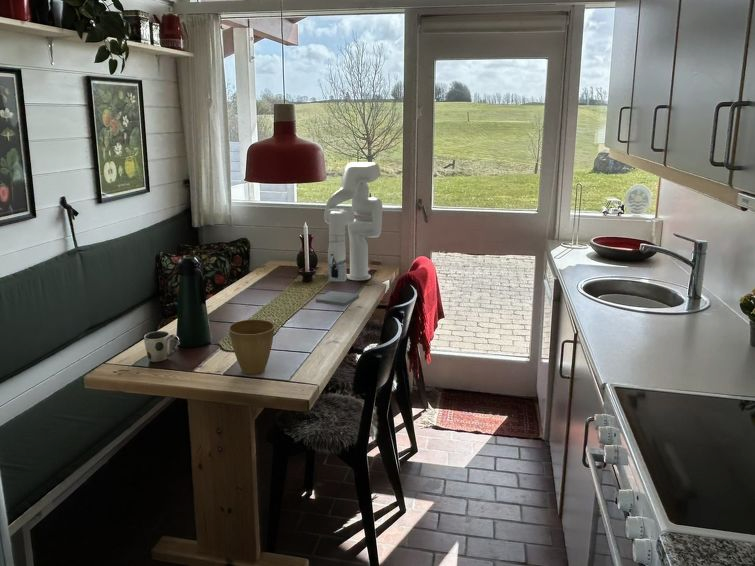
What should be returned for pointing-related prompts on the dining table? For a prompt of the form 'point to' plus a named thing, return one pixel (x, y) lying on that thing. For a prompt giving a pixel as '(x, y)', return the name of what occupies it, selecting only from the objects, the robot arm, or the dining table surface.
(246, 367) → the plant pot
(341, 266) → the medicine box
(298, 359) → the dining table surface
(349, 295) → the plate
